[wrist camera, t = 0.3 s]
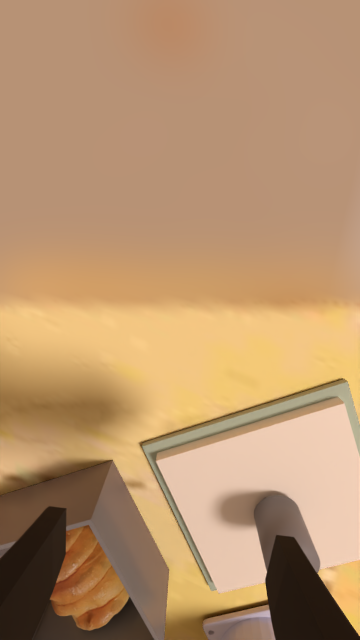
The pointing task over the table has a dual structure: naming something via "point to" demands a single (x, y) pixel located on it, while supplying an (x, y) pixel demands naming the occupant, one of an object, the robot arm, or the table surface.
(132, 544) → the dish
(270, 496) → the lid
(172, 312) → the table surface
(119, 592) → the pastry
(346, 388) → the mat
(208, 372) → the table surface
